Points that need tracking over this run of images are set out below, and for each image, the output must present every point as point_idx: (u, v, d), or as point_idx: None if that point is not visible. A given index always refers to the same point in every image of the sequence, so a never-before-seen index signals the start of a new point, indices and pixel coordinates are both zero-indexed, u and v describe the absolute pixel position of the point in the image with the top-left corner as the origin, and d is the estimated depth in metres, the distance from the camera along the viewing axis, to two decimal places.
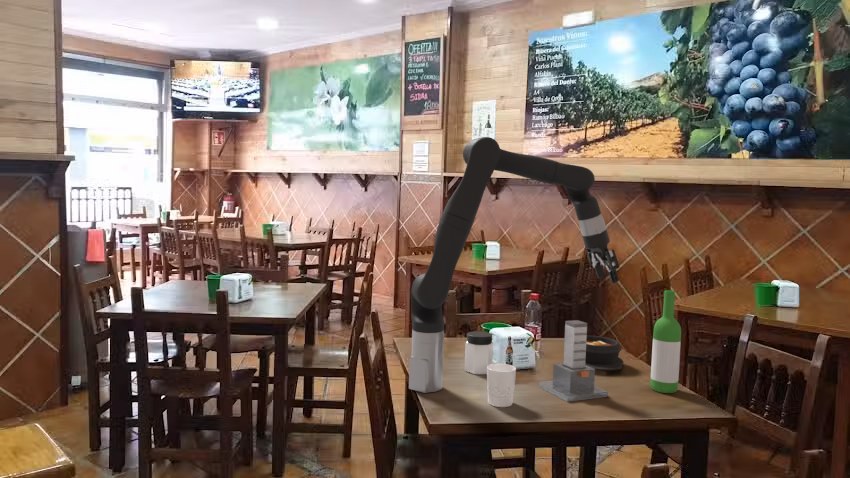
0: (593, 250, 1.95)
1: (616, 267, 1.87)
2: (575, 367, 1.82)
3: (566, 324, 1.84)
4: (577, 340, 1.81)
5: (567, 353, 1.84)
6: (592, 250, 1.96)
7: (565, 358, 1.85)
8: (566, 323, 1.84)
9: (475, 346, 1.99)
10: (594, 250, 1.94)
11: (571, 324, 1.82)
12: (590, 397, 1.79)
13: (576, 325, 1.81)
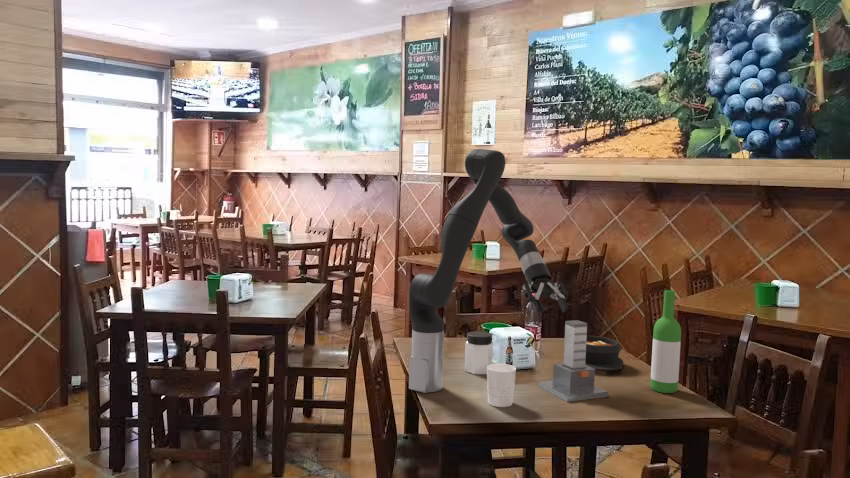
0: (538, 283, 1.98)
1: None
2: (575, 367, 1.82)
3: (566, 324, 1.84)
4: (577, 340, 1.81)
5: (567, 353, 1.84)
6: (536, 283, 1.98)
7: (565, 358, 1.85)
8: (566, 323, 1.84)
9: (475, 346, 1.99)
10: (540, 282, 1.98)
11: (571, 324, 1.82)
12: (590, 397, 1.79)
13: (576, 325, 1.81)
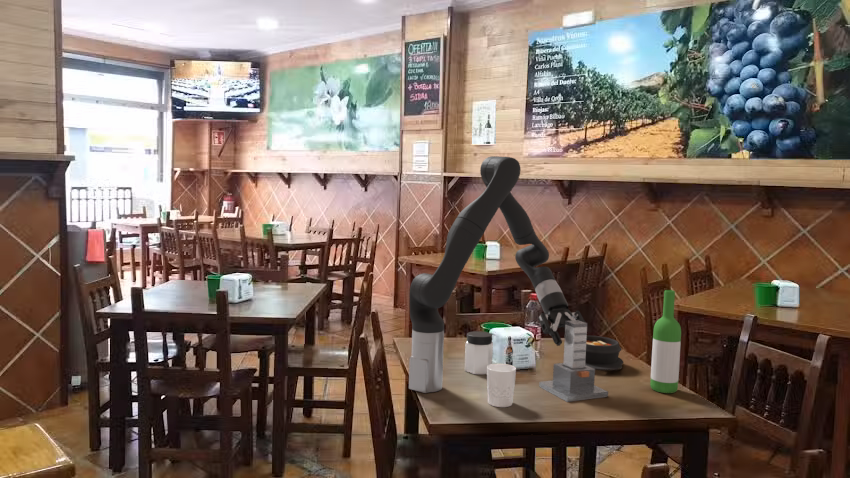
0: (555, 313, 1.90)
1: None
2: (575, 367, 1.82)
3: (566, 324, 1.84)
4: (577, 340, 1.81)
5: (567, 353, 1.84)
6: (553, 313, 1.90)
7: (565, 358, 1.85)
8: (566, 323, 1.84)
9: (475, 346, 1.99)
10: (557, 312, 1.90)
11: (571, 324, 1.82)
12: (590, 397, 1.79)
13: (576, 325, 1.81)
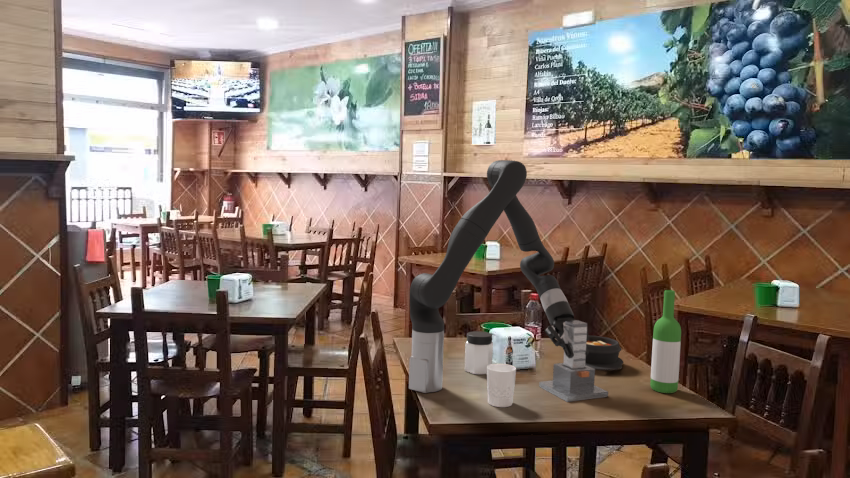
0: (561, 322, 1.87)
1: None
2: (575, 367, 1.82)
3: (566, 324, 1.84)
4: (577, 340, 1.81)
5: None
6: (558, 322, 1.87)
7: (565, 358, 1.85)
8: (566, 323, 1.84)
9: (475, 346, 1.99)
10: (562, 322, 1.88)
11: (571, 324, 1.82)
12: (590, 397, 1.79)
13: (576, 325, 1.81)
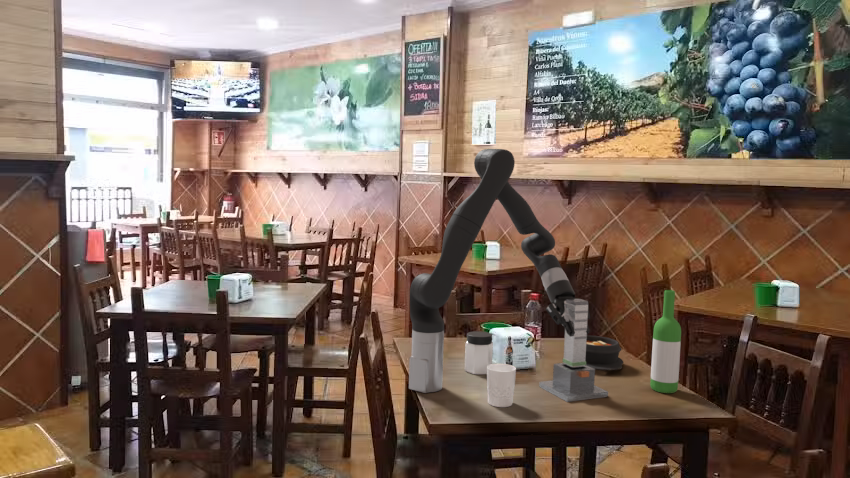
0: (562, 301, 1.87)
1: None
2: (576, 345, 1.81)
3: (567, 302, 1.84)
4: (578, 318, 1.81)
5: None
6: (559, 301, 1.87)
7: (566, 336, 1.84)
8: (567, 301, 1.84)
9: (475, 346, 1.99)
10: (563, 301, 1.87)
11: (572, 302, 1.81)
12: (590, 397, 1.79)
13: (577, 303, 1.80)
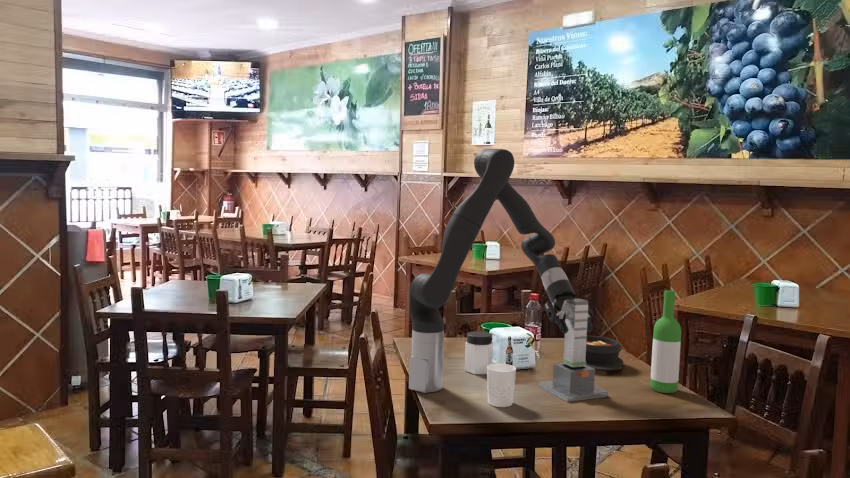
0: (562, 301, 1.87)
1: None
2: (576, 345, 1.81)
3: (567, 302, 1.84)
4: (578, 318, 1.81)
5: (568, 332, 1.83)
6: (560, 301, 1.86)
7: (566, 336, 1.84)
8: (567, 301, 1.84)
9: (475, 346, 1.99)
10: (563, 300, 1.87)
11: (572, 302, 1.81)
12: (590, 397, 1.79)
13: (577, 303, 1.80)
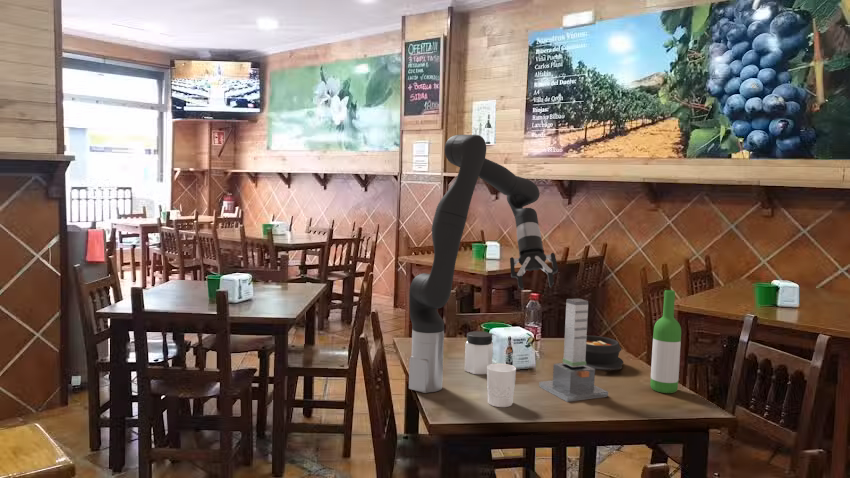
0: (526, 257, 1.95)
1: None
2: (576, 345, 1.81)
3: (567, 302, 1.84)
4: (578, 318, 1.81)
5: (568, 332, 1.83)
6: (524, 257, 1.95)
7: (566, 336, 1.84)
8: (567, 301, 1.84)
9: (475, 346, 1.99)
10: (528, 256, 1.95)
11: (572, 302, 1.81)
12: (590, 397, 1.79)
13: (577, 303, 1.80)
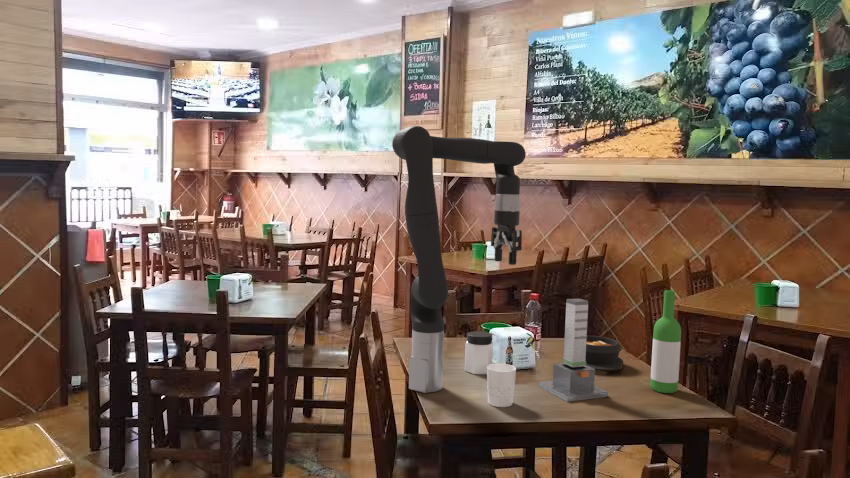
0: (500, 229, 1.92)
1: (518, 248, 1.85)
2: (576, 345, 1.81)
3: (567, 302, 1.84)
4: (578, 318, 1.81)
5: (568, 332, 1.83)
6: (499, 229, 1.93)
7: (566, 336, 1.84)
8: (567, 301, 1.84)
9: (475, 346, 1.99)
10: (501, 229, 1.92)
11: (572, 302, 1.81)
12: (590, 397, 1.79)
13: (577, 303, 1.80)
